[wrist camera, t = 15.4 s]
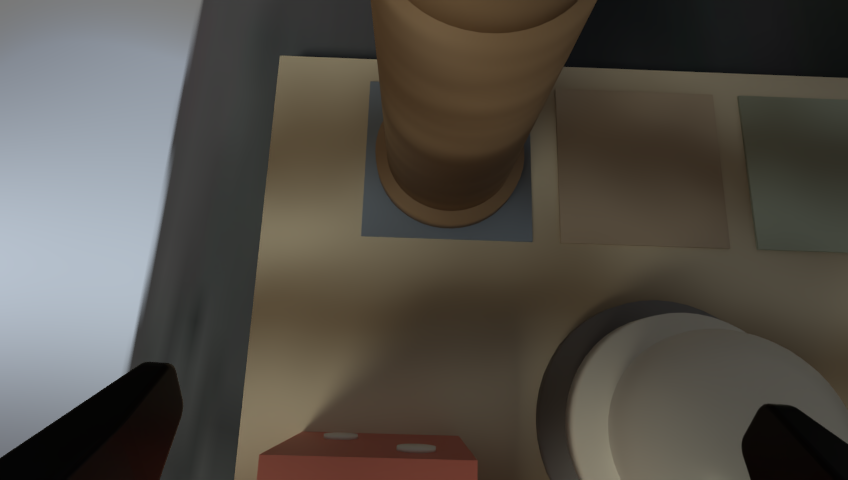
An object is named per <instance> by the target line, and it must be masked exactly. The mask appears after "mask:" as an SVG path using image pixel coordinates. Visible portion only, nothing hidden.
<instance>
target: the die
mask: <svg viewBox="0 0 848 480" xmlns="http://www.w3.org/2000/svg"><path fill="white" fill-rule="evenodd" d="M257 480H478V460H477V459H476V458H475V456H474V455H473V454H472V453H471V451H470V450H469V449H468V447H467V446H466V445H465V443H464V442H463V441H462V440H461V438H460V437H459V436H446V435H411V434H375V433H346V432H304V431H302V432H301V433H299V434H297V435H295V436H293V437H291V438H289V439H287V440H286V441H284V442H282V443H280V444H278V445H276V446H274V447H272V448H271V449H269V450H267V451H265V452H263V453H261V454H259V461H258V471H257Z"/></svg>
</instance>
